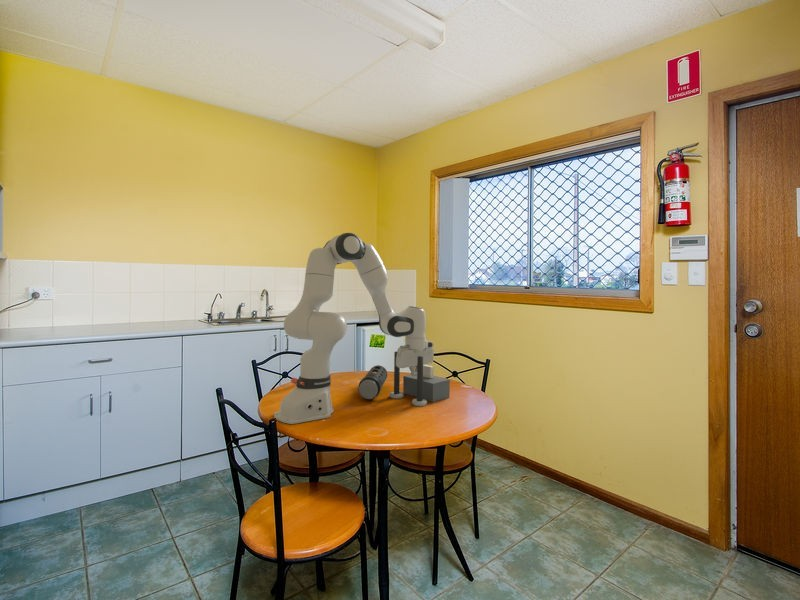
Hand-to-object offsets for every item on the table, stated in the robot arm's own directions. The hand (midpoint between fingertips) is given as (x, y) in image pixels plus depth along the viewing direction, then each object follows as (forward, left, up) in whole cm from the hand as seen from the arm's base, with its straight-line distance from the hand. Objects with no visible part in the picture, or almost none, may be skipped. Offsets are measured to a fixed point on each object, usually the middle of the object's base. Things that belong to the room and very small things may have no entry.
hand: (414, 375), depth 180 cm
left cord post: (-4, +7, -10) cm, 13 cm away
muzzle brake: (-8, +18, -11) cm, 23 cm away
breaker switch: (+9, 0, -2) cm, 9 cm away
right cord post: (-4, -7, -10) cm, 13 cm away
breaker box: (+8, 0, -10) cm, 13 cm away
